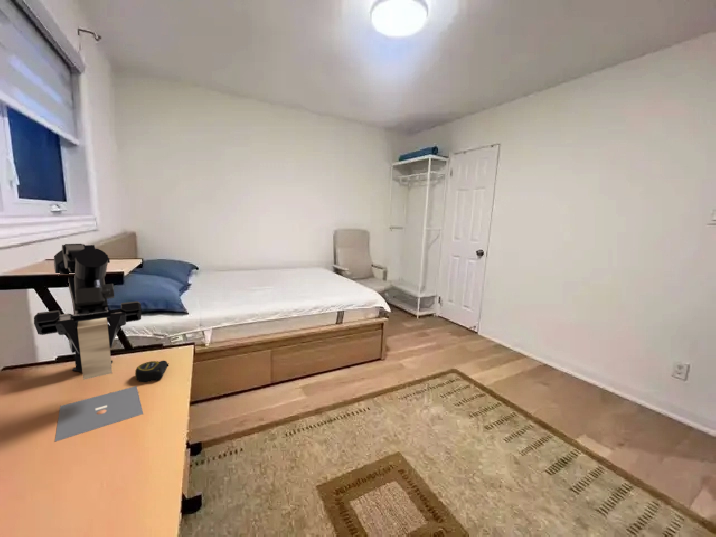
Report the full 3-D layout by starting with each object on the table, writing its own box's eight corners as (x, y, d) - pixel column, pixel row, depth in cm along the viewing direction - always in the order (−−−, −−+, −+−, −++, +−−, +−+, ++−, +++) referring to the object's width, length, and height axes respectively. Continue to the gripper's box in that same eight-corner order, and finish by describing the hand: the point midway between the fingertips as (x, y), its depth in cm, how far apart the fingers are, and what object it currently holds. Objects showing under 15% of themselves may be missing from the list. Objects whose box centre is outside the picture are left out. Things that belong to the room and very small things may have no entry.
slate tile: (60, 408, 69) (60, 405, 69) (136, 388, 78) (136, 385, 78) (55, 444, 59) (54, 441, 59) (143, 416, 68) (143, 413, 68)
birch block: (83, 370, 72) (78, 321, 70) (111, 364, 75) (106, 317, 73) (83, 379, 68) (77, 328, 66) (112, 373, 71) (107, 323, 69)
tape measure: (162, 383, 81) (161, 370, 81) (131, 386, 79) (130, 373, 79) (169, 371, 88) (168, 358, 87) (141, 373, 86) (140, 361, 85)
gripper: (29, 276, 64) (27, 344, 58) (137, 269, 76) (146, 325, 70) (38, 303, 72) (38, 366, 65) (136, 293, 84) (144, 345, 77)
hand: (95, 349), depth 69 cm, fingers closed on birch block, 5 cm apart
